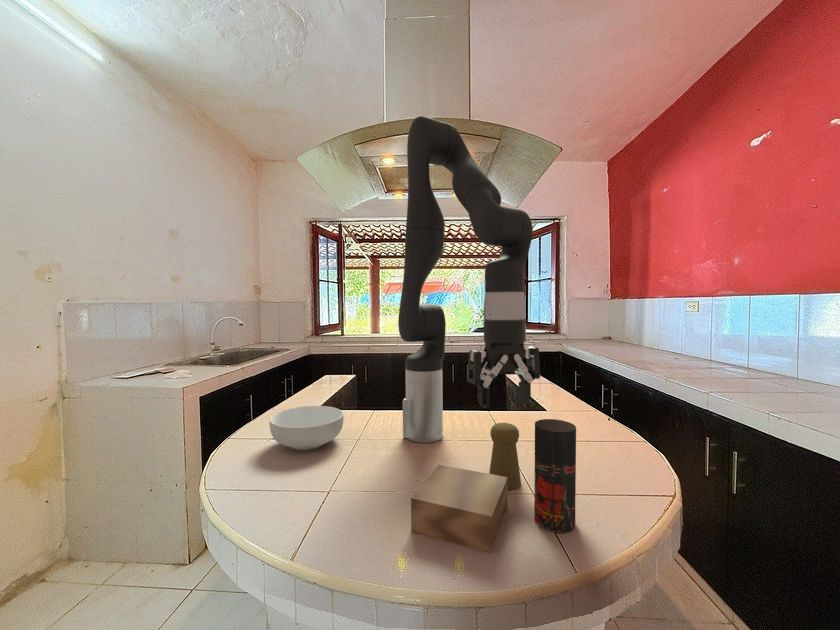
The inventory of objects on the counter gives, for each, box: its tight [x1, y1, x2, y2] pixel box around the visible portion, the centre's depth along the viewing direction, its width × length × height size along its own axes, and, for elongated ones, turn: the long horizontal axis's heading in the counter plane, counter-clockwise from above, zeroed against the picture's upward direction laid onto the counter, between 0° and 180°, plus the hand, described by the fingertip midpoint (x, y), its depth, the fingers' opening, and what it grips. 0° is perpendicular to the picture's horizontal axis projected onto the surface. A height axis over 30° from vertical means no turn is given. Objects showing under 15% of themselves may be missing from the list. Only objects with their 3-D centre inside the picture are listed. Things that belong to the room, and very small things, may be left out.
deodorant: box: [533, 418, 577, 534], centre depth 57 cm, size 6×6×15 cm
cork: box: [488, 422, 522, 492], centre depth 69 cm, size 6×6×11 cm
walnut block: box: [410, 464, 509, 553], centre depth 58 cm, size 12×12×5 cm
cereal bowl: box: [269, 405, 345, 451], centre depth 89 cm, size 17×17×7 cm
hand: (504, 404), depth 68 cm, fingers open, 8 cm apart
